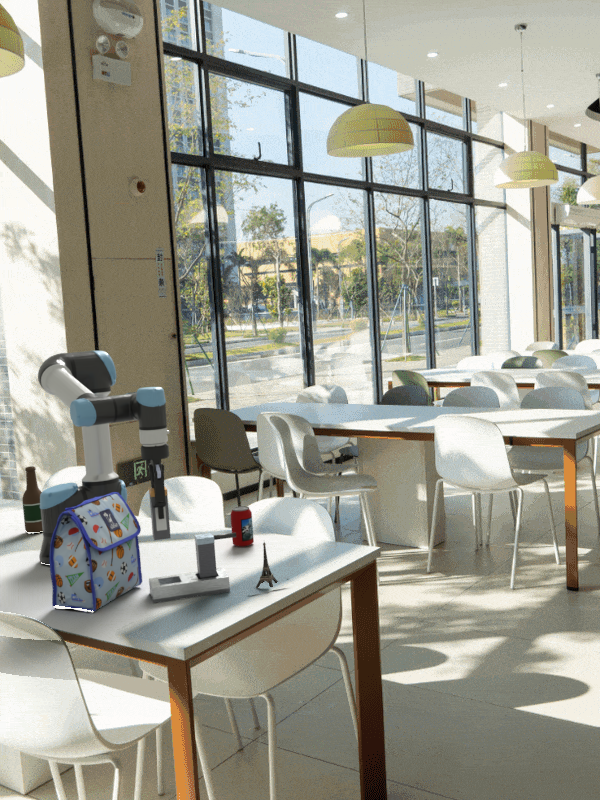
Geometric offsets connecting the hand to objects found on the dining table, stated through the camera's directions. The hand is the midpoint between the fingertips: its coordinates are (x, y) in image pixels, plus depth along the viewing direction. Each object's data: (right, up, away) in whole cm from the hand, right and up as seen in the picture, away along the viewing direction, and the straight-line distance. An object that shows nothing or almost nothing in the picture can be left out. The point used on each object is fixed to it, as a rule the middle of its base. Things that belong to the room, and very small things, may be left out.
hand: (160, 527), depth 227 cm
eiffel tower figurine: (+30, -15, -7) cm, 34 cm away
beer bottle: (-58, -13, +74) cm, 95 cm away
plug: (0, -3, 0) cm, 3 cm away
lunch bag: (-15, -18, -8) cm, 24 cm away
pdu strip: (+11, -16, -8) cm, 21 cm away
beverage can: (+20, -11, +36) cm, 43 cm away
